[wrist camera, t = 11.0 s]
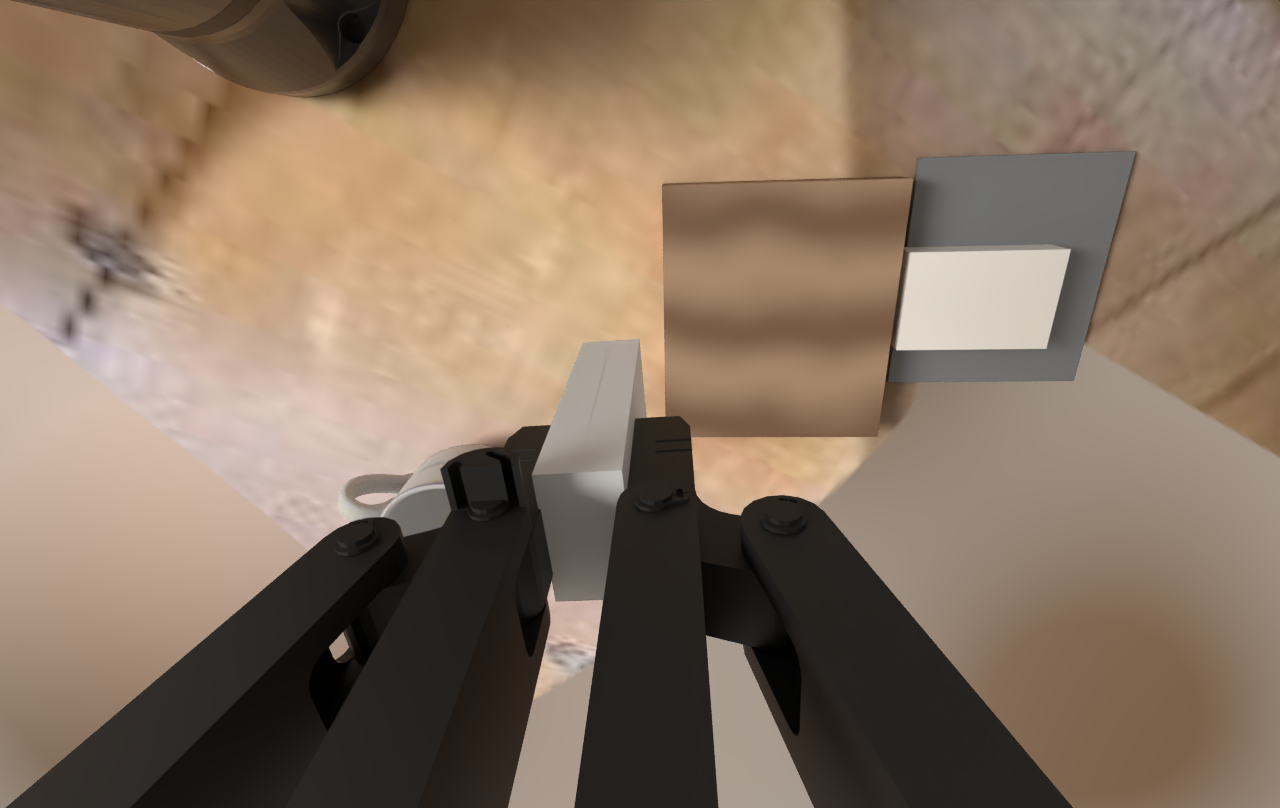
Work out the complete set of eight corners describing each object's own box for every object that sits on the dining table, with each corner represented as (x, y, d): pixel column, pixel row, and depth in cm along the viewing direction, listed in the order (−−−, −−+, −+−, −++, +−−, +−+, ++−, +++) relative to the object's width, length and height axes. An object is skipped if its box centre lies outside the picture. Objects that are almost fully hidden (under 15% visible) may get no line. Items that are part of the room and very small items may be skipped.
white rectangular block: (899, 247, 37) (910, 252, 35) (1050, 244, 36) (1071, 249, 34) (886, 340, 39) (896, 350, 37) (1028, 339, 38) (1046, 348, 37)
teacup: (585, 476, 45) (567, 540, 37) (517, 571, 49) (489, 646, 41) (418, 378, 42) (364, 426, 35) (361, 486, 46) (301, 549, 39)
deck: (663, 183, 36) (662, 185, 34) (898, 176, 35) (913, 178, 33) (666, 421, 42) (665, 437, 40) (866, 420, 42) (877, 436, 39)
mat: (917, 158, 35) (919, 158, 35) (1132, 151, 34) (1135, 151, 34) (886, 380, 40) (888, 382, 40) (1070, 379, 40) (1073, 380, 39)
